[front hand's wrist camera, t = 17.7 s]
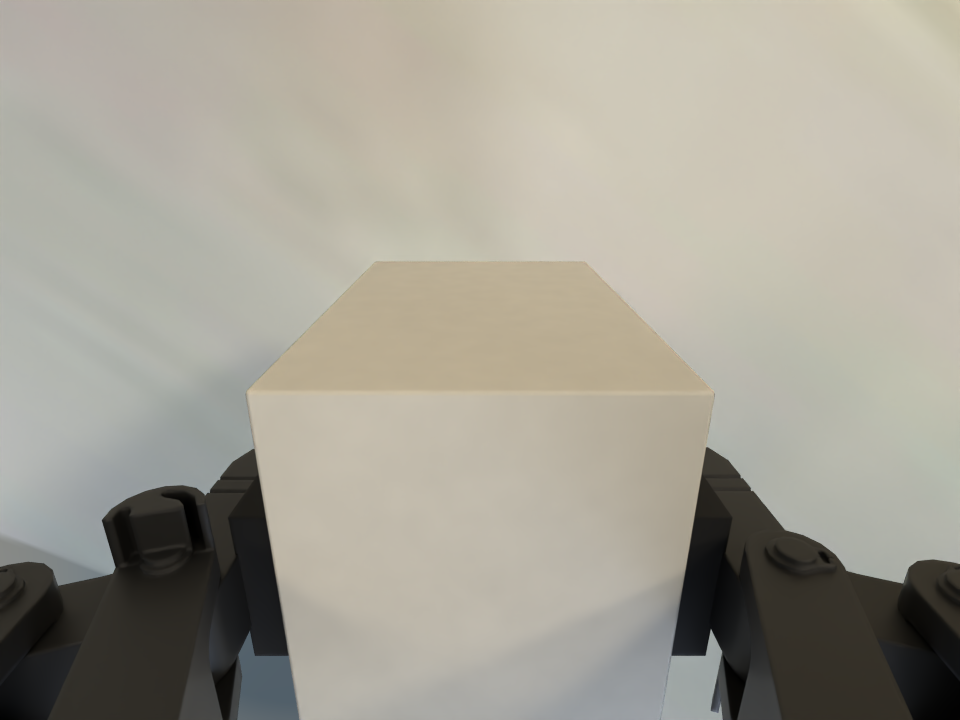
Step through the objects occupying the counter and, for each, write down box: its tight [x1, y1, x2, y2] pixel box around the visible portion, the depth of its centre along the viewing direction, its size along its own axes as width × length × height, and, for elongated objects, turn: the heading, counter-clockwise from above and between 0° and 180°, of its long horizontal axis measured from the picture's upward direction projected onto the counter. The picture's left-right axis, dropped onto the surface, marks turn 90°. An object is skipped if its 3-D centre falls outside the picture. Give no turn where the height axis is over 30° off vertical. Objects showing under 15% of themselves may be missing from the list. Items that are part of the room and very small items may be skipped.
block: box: [246, 261, 715, 720], centre depth 12 cm, size 7×6×9 cm
